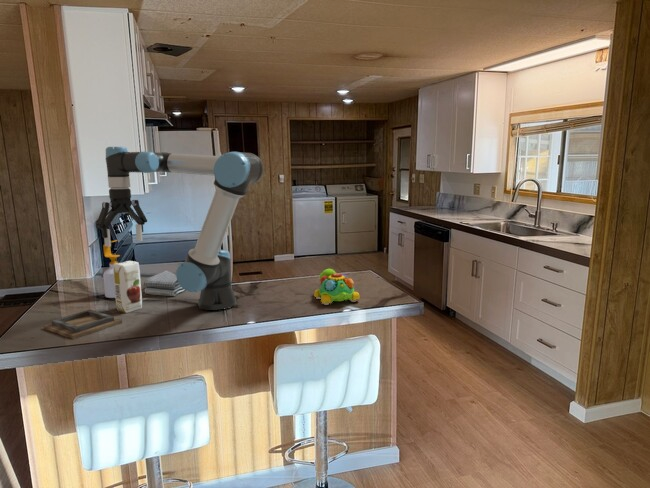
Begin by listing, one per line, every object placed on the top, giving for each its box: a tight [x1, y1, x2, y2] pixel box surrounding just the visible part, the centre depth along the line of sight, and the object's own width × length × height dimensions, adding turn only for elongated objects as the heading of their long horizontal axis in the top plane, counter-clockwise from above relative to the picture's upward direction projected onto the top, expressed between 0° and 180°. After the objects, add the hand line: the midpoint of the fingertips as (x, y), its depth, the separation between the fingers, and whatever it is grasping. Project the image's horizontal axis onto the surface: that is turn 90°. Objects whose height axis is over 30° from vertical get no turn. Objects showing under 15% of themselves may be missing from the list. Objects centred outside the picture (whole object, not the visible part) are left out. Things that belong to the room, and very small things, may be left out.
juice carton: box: [113, 260, 143, 314], centre depth 177 cm, size 8×9×19 cm
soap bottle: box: [102, 239, 121, 299], centre depth 196 cm, size 9×9×25 cm
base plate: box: [43, 309, 123, 340], centre depth 161 cm, size 18×18×3 cm
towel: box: [143, 269, 186, 297], centre depth 205 cm, size 15×18×8 cm
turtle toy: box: [313, 268, 361, 304], centre depth 192 cm, size 17×23×12 cm
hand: (124, 243), depth 174 cm, fingers open, 13 cm apart
